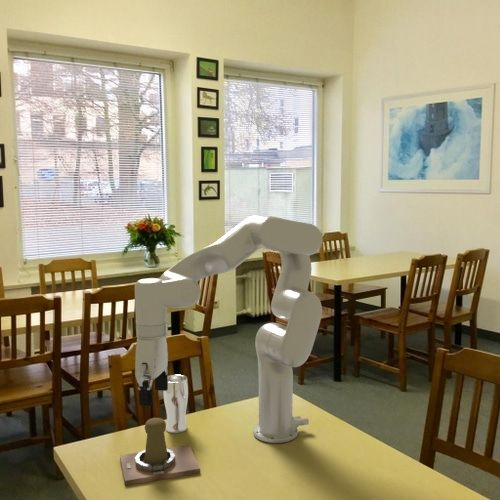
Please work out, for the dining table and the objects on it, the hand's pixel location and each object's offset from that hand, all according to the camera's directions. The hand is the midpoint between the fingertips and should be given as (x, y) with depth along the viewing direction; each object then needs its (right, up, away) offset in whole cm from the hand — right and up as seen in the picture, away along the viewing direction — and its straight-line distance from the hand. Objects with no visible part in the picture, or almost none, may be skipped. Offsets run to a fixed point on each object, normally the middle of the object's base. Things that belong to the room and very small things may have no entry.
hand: (154, 397), depth 136 cm
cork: (0, -17, +2) cm, 17 cm away
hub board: (+1, -18, +2) cm, 18 cm away
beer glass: (+2, -16, +24) cm, 28 cm away
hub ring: (0, -17, +2) cm, 17 cm away
